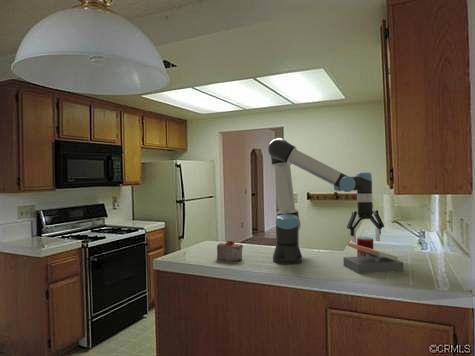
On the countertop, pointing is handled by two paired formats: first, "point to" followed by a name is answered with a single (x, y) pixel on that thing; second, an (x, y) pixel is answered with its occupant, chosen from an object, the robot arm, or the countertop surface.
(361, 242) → the canned food
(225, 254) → the food item
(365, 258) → the switch base
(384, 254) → the rocker switch
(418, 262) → the countertop surface
